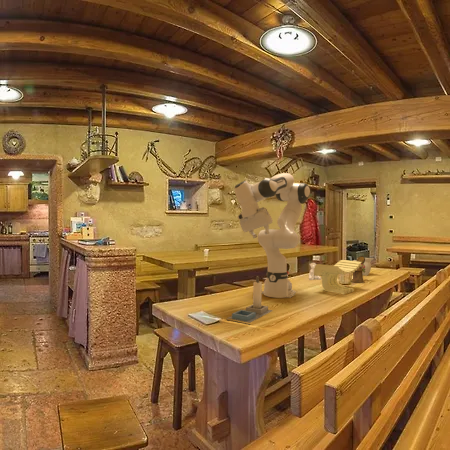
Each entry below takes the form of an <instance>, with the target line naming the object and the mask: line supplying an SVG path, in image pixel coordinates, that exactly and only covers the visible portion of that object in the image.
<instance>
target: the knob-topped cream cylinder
mask: <svg viewBox="0 0 450 450" xmlns="http://www.w3.org/2000/svg"><path fill="white" fill-rule="evenodd" d="M255 280H256V281H253V287H252V289H253V292H252V296H253V297H252V305H253V308H255V309H261V305H262V291H263V290H262V288H263V286H262V285H263V284H262V281H260V276H258V275H256V276H255Z"/></svg>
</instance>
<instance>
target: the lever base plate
mask: <svg viewBox="0 0 450 450" xmlns="http://www.w3.org/2000/svg"><path fill="white" fill-rule="evenodd" d="M273 311H274V310H273V309H272V310H271V309H269V306H266V305H262V304H261V309H255V308H253V304H251V305H249V306H246V307H245V309H240V310H237V311H235V312H233V313H231V316H228V317H227V318H226V320H225V321H227V322H232V323H239V324H244V325H249V326H250V325H252V324H250V323H252V322H254V321H256V320H257V319H260V318H262V317H263V316H265V315H268V314H269V313H272V312H273Z"/></svg>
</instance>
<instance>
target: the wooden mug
mask: <svg viewBox="0 0 450 450" xmlns="http://www.w3.org/2000/svg"><path fill="white" fill-rule="evenodd" d="M365 258H366V257H364V256H363V255H360V256H358V257H357V258H356V260H357V262H361V264H363V263H364V262H365ZM351 283H354V284H364V283H365V282H364V275H363V274H362V267H361V266H360V267H359V268H357V270H355V272H353V279H352V282H351Z"/></svg>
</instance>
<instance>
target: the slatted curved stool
mask: <svg viewBox="0 0 450 450" xmlns="http://www.w3.org/2000/svg"><path fill="white" fill-rule="evenodd" d="M316 264H317V265H316V266H315V267H314V275H315V276H320V277H321V288H322V289H323V291H325V292H330V293H335V294H342V295H347V294H349V293H353V292H355V289H354V288H353V287H347V286H345V285H341V284H339V283H338V281H337V280H338V277H339V275H348V274H352V273H353V272H355V270H357V268H359V267H360V266H361V262H357V261H353V260H347V259H341V260H338V261H337V263H335V264H333V265H329V264H324V263H323V264H322V263H316Z"/></svg>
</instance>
